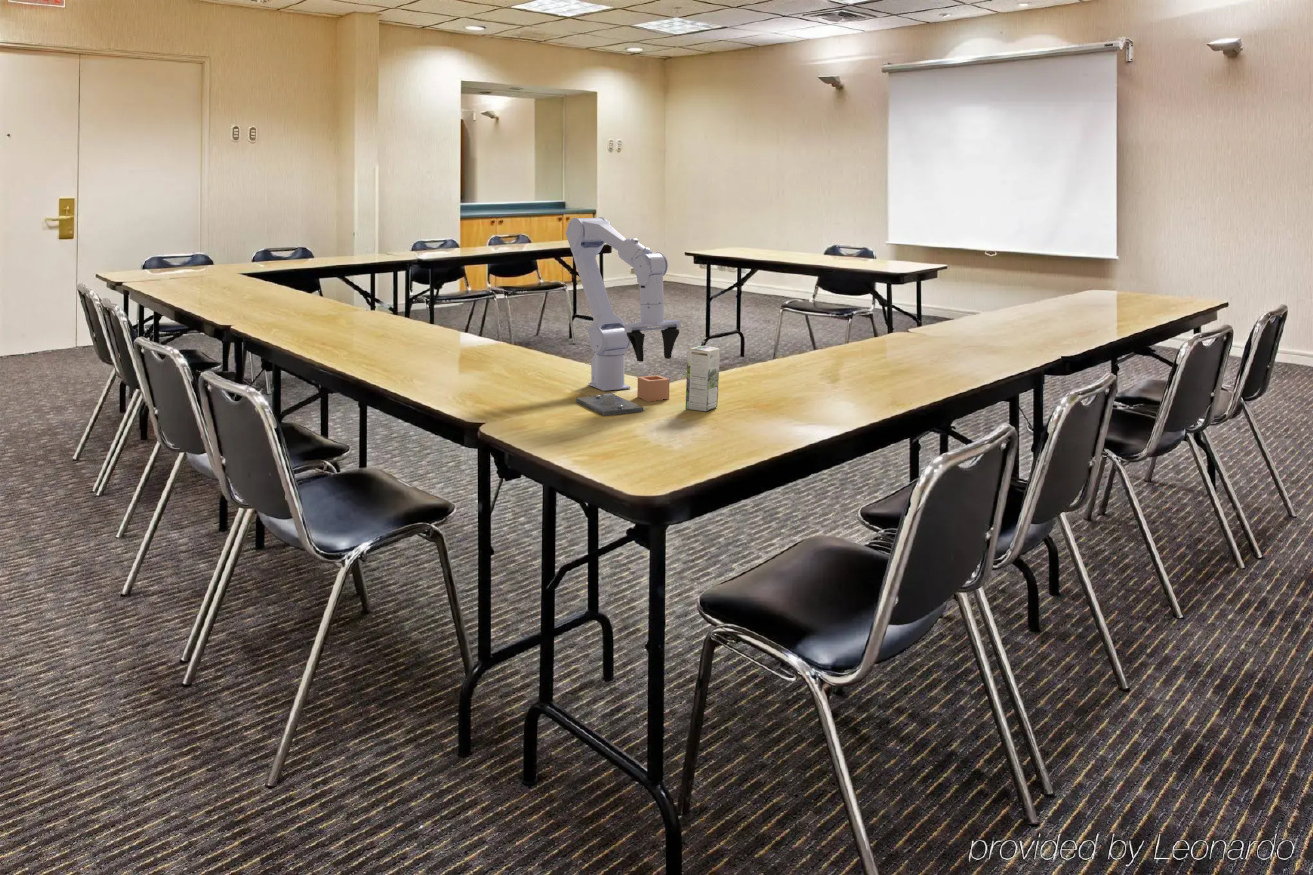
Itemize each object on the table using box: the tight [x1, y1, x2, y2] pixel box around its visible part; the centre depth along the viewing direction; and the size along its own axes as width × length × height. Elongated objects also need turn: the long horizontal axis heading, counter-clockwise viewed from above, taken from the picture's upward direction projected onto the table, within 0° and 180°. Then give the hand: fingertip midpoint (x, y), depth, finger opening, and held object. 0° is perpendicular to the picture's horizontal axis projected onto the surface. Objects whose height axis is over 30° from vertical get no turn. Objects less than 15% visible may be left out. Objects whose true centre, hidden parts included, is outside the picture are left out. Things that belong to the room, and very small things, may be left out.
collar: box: [637, 374, 671, 402], centre depth 242 cm, size 6×6×5 cm
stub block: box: [575, 392, 645, 417], centre depth 232 cm, size 16×10×3 cm, turn 29°
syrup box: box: [685, 345, 721, 412], centre depth 230 cm, size 6×6×14 cm
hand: (654, 359), depth 239 cm, fingers open, 7 cm apart
